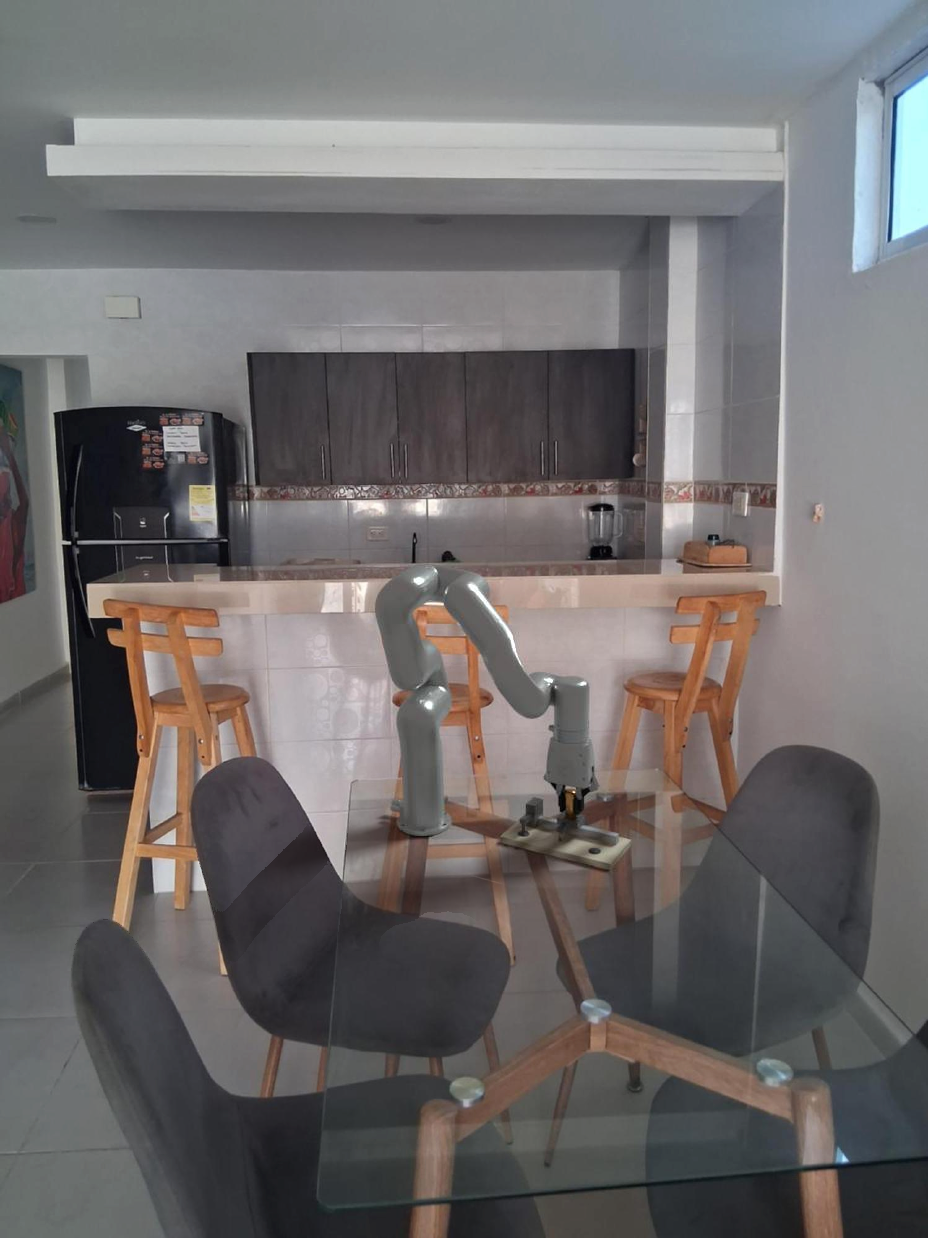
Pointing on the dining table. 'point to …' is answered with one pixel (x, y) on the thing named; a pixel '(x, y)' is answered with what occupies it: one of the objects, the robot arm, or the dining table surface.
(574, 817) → the brass and grey piece
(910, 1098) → the dining table surface
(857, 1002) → the dining table surface
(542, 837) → the hole plate
